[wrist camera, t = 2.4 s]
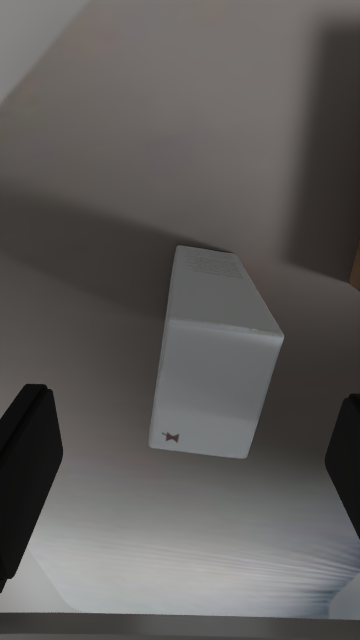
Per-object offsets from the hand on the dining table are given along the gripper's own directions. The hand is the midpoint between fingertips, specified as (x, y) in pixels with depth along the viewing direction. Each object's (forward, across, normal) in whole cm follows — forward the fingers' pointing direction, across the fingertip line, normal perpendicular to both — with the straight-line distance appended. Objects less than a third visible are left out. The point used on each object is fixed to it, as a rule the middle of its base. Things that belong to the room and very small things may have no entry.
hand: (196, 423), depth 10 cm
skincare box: (+14, -1, 0) cm, 14 cm away
